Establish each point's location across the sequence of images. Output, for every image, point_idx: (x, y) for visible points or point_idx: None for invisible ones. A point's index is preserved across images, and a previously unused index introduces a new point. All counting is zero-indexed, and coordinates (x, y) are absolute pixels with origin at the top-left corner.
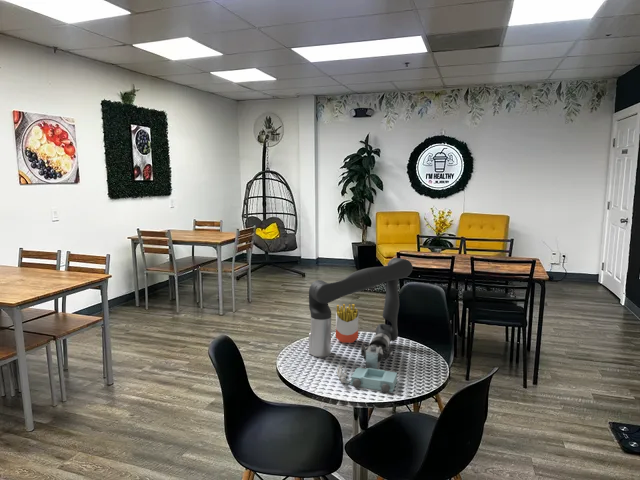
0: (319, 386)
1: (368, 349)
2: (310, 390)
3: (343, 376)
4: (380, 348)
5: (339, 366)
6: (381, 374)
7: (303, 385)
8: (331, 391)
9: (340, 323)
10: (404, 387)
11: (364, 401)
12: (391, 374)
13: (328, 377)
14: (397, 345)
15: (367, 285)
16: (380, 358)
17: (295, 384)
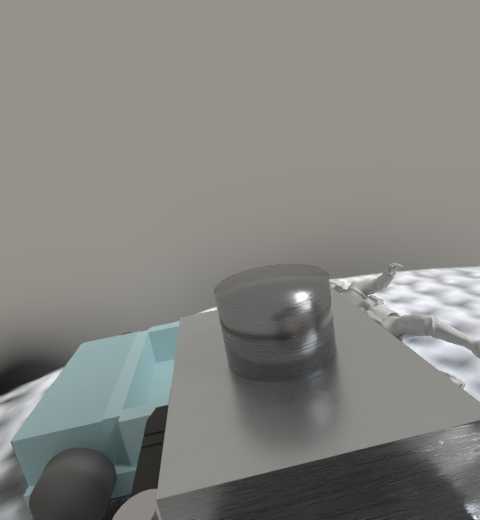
0: (403, 290)
1: (349, 320)
2: (398, 274)
3: (344, 296)
4: (161, 505)
5: (391, 264)
6: None
7: (450, 274)
8: None
9: None
10: (3, 457)
11: (206, 310)
12: (73, 397)
13: (464, 330)
14: None
15: None
16: (160, 413)
17: (477, 267)
